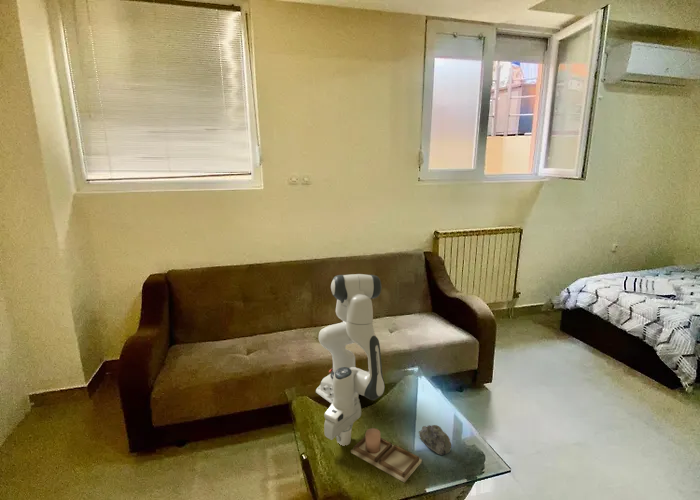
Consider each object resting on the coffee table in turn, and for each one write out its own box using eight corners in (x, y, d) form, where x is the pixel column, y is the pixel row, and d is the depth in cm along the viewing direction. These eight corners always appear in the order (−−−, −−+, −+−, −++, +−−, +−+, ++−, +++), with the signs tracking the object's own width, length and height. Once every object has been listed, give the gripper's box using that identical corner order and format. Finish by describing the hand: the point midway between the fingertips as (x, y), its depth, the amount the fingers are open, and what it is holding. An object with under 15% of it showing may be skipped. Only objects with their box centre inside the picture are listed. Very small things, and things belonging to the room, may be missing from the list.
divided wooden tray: (350, 452, 158) (350, 447, 158) (369, 435, 168) (369, 430, 168) (404, 482, 143) (404, 476, 142) (421, 462, 153) (421, 456, 152)
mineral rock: (417, 436, 168) (418, 415, 166) (441, 433, 169) (442, 413, 167) (427, 458, 155) (428, 435, 153) (453, 455, 157) (454, 432, 155)
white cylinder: (350, 447, 161) (350, 432, 159) (334, 445, 162) (333, 430, 161) (353, 436, 167) (353, 422, 166) (337, 434, 169) (337, 420, 167)
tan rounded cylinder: (362, 449, 159) (362, 433, 157) (371, 441, 163) (371, 426, 162) (374, 455, 155) (374, 440, 154) (383, 447, 160) (383, 432, 158)
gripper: (353, 392, 171) (353, 421, 174) (321, 415, 156) (322, 446, 159) (364, 398, 167) (364, 426, 170) (333, 422, 152) (333, 453, 155)
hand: (343, 436), depth 164 cm, fingers closed on white cylinder, 5 cm apart
